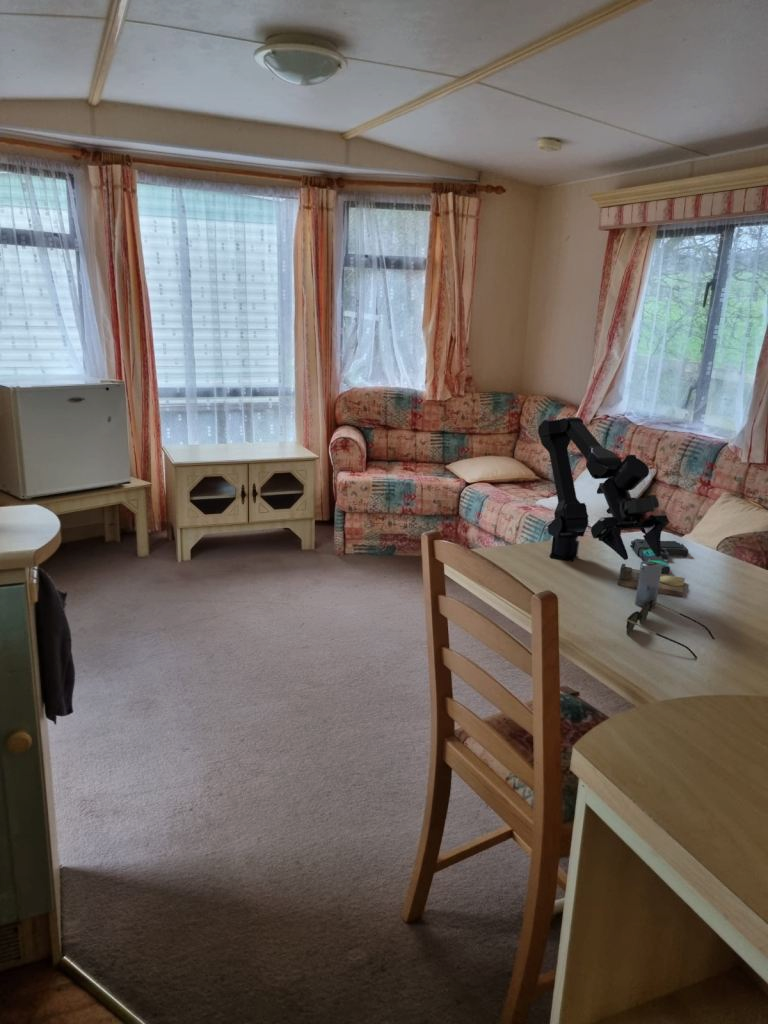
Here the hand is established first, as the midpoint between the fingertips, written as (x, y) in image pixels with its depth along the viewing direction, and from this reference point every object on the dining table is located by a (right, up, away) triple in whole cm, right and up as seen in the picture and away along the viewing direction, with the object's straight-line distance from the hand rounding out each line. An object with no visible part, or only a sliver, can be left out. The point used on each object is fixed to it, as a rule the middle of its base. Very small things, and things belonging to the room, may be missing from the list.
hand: (642, 557), depth 166 cm
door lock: (+7, -7, +14) cm, 17 cm away
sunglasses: (0, -16, -16) cm, 23 cm away
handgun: (+18, -3, +32) cm, 37 cm away
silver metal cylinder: (+1, -11, 0) cm, 11 cm away
